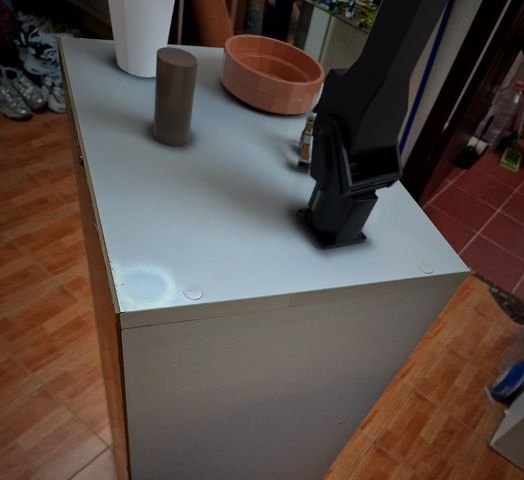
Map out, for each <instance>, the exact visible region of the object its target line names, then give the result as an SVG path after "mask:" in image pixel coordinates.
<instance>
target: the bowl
mask: <svg viewBox="0 0 524 480" xmlns="http://www.w3.org/2000/svg"><path fill="white" fill-rule="evenodd" d="M222 52H223V53H222V59H221V66H220V72H219V73H220V74H219V77H220V81H221V83H222V85H223V86H224V87H225V88H226V90H227V91H228V92H229V93H230V94H232V95H233V96H234V97H236V98H237V99H238V100H240V101H242V102H243V103H244V104H247V105H248V106H250V107H251V108H254V109H257V110H260V111H263V112H267V113H271V114H276V115H301V114H304V113H309V112H310V111H312V110H313V108H314V107H315V106H316V104H317V102H318V99H319V98H318V97H319V95H320V91H321V90H322V89H321V88H322V87H323V84H324V80H325V74H326V73H325V70H324V68H323V66H322V64H321V63H320V62H318V60H317V59H316V58H314V57H313V56H312V55H310V54H309V53H307V52H306V51H304V50H303V49H301V48H299V47H296V46H294V45H292V44H291V43H287V42H285V41H283V40H282V41H281V40H279V39H276V38H272V37H267V36H263V35H257V34H256V35H255V34H239V35H233V36H231V37H229V38H227V39H226V41H225V43H224V45H223V51H222Z"/></svg>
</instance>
